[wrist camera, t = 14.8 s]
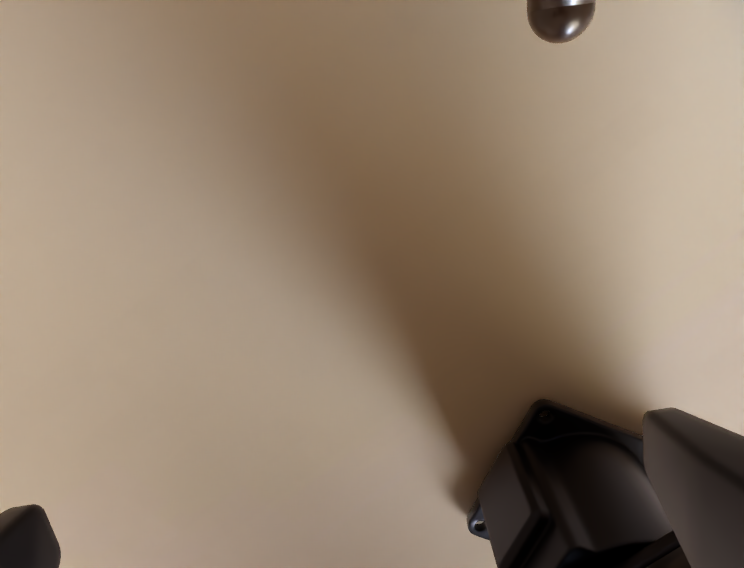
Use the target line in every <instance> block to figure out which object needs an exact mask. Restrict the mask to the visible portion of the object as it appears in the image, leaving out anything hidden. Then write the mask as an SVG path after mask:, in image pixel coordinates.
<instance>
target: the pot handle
mask: <svg viewBox="0 0 744 568" xmlns="http://www.w3.org/2000/svg"><path fill="white" fill-rule="evenodd" d="M594 11H595V0H527V16H528V21H529V24H530V27H531V28H532V30H533V32H534V33H535V34H536V35H537V36H538V37H539V38H541V39H542V40H544V41H547V42H550V43H564V42H568V41H571V40H573V39H575V38H576V37H578V36H579V35H580V34H582V33H583V32H584V31H585V30H586V28H587V27H588V25H589V24H590V22H591V20H592V18H593V15H594Z"/></svg>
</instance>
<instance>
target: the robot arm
mask: <svg viewBox="0 0 744 568" xmlns="http://www.w3.org/2000/svg"><path fill="white" fill-rule="evenodd" d="M543 411H549V413H548V414H547V415H546V416H544V417H542V416H540V414H541V413H542V412H543ZM477 494H478V498H477V500H476V502H475V504H474V505H473V507H472V509H471V510H470V512H469V514H468V516H467V525H468V529H469V531H470V532H471V533H472V534H474V535H476V536H479V537H482V538H485V539H488V540H490V542H491V546H492V549H493V553H494V557H495V560H496V564H497V567H498V568H744V436H741V435H739V434H737V433H734V432H732V431H729V430H727V429H725V428H722V427H720V426H717V425H715V424H712V423H710V422H708V421H705V420H703V419H700V418H698V417H696V416H693V415H691V414H688V413H686V412H684V411H681V410H679V409H676V408H665V409H659V410H652V411H648V412H646V413H645V414H644V417H643V436H641V435H639V434H636V433H633V432H631V431H628V430H626V429H623V428H620V427H618V426H615V425H613V424H610V423H607V422H605V421H602V420H600V419H597V418H594V417H592V416H589V415H587V414H584V413H581V412H579V411H576V410H574V409H571V408H568V407H566V406H563V405H561V404H558V403H555V402H553V401H550V400H546V399H543V400H539V401H537V402H535V403H534V404H533V405H532V406H531V408H530V410H529V411H528V413H527V415H526V417H525V418H524V420H523V422H522V423H521V425H520V427H519V428H518V430H517V432H516V434H515V435H514V437H513V439H512V440H511V442H509V443H507V444H505V445H504V447H503V448H502V450H501V452H500V453H499V455H498V457H497V459H496V460H495V462H494V464H493V465H492V467H491V469H490V471H489V472H488V474H487V476H486V477H485V479H484V481H483V483H482V484H481V486H480V488H479V489H478V492H477ZM478 521H484V522H483V523H481V524H475V523H476V522H478ZM60 558H61V551H60V546H59V543H58V541H57V539H56V536H55V534H54V532H53V529H52V527H51V525H50V522H49V520H48V518H47V515H46V513H45V511H44V509H43V508H42V507H41V506H39V505H36V504H33V505H27V506H20V507H13V508H10V509H8V510H6V511H4V512H3V513H1V514H0V568H59V564H60Z"/></svg>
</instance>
